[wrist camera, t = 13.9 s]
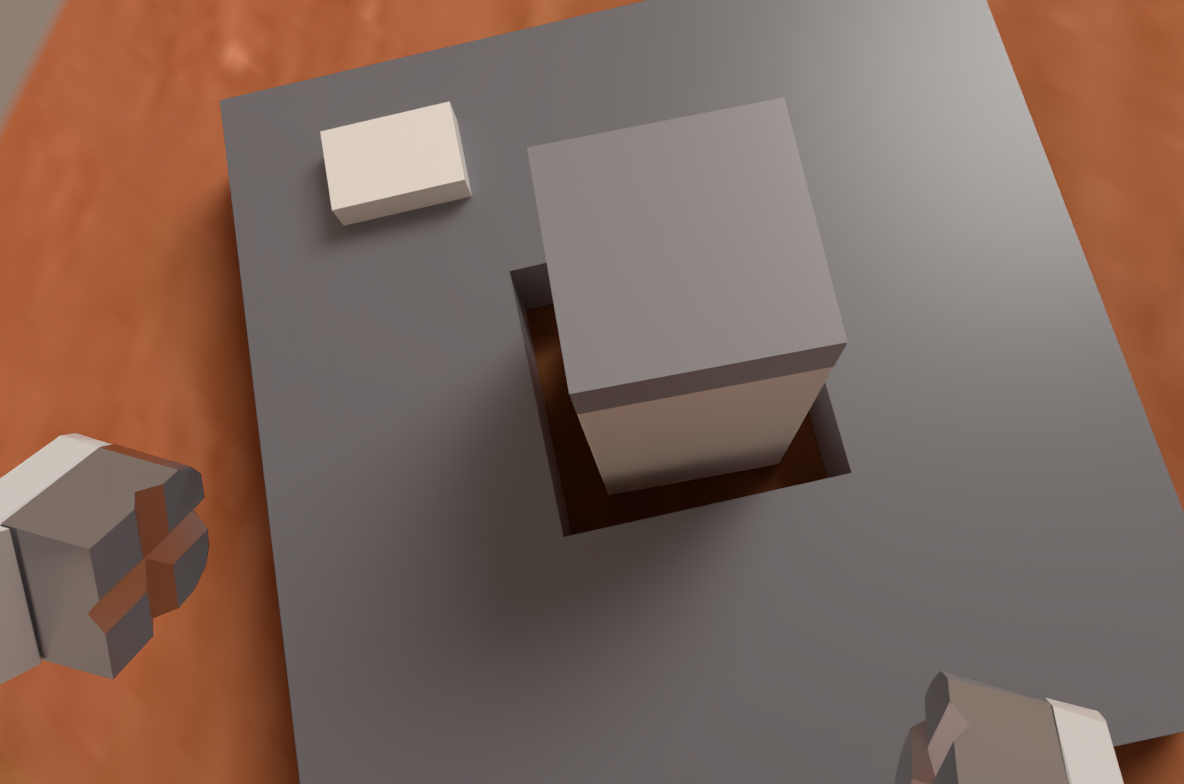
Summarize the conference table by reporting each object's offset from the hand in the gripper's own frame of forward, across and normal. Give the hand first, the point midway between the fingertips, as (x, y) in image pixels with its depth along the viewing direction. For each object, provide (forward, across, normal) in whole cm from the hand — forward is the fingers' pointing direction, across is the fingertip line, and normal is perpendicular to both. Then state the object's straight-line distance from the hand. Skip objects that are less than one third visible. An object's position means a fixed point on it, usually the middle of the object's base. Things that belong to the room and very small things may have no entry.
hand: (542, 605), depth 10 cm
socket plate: (+12, 0, +4) cm, 13 cm away
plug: (+12, 0, +4) cm, 13 cm away
